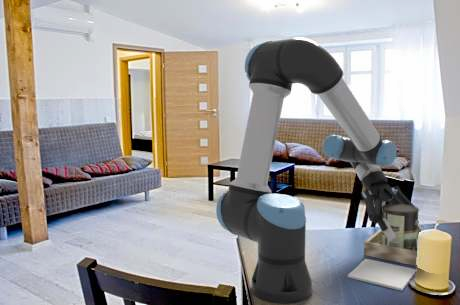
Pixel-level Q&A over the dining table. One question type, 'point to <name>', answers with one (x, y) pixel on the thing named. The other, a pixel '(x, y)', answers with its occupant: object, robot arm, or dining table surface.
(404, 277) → the ceramic tile
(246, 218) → the robot arm
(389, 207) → the coffee can
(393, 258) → the crate frame
